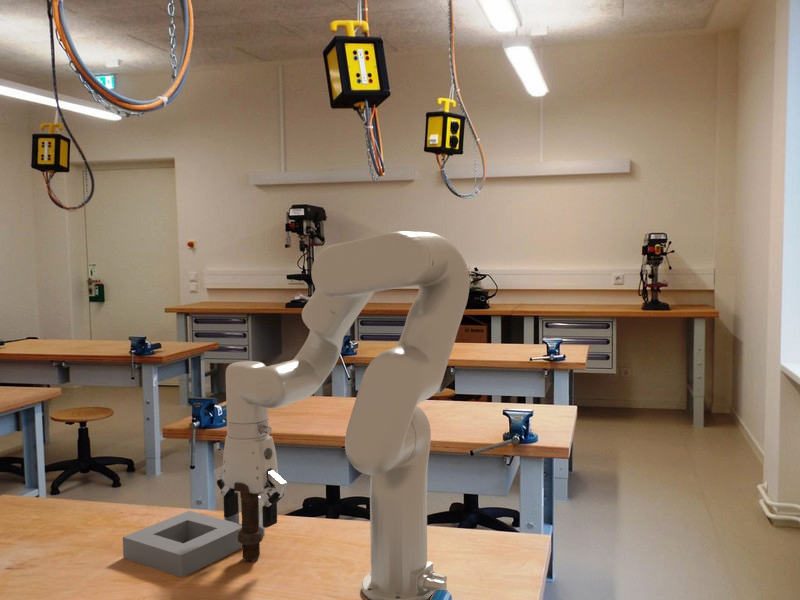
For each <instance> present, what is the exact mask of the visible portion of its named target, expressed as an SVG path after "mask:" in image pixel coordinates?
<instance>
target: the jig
mask: <svg viewBox="0 0 800 600" xmlns="http://www.w3.org/2000/svg"><path fill="white" fill-rule="evenodd" d="M240 529H242V523H239V524H238V523H234V522H231V521H227V520H224V518H219V517H214V516H211V515H208V514H203V513H199V512H195V511H193V510H187V511H185V512H182V513H179V514H177V515H175V516H173V517H170V518H167V519H165V520H163V521H160V522H157V523H155V524H152V525H149V526H146V527H144V528H142V529H139V530H137V531H135V532H132V533H129V534H127V535H123V536H122V551H123V552H122V557H123V559H125V558H126V559H125V560H128V561H131V562H134V563H138V564H141V565H144V566H147V567H150V568H153V569H154V570H159V571H162V572H165V573H168V574H170V575H174V576H176V577H179V578H183V577H186V576H189V575H190V574H193V573H194V572H196V571H198V570H200V569H202V568H203V569H204V568H205V567H208V566H209V565H211V564H212V563H214V562H216V561H219V560H222V559H223V558H225V557H227V556H229V555H231V554H232V553H235V552H237V551H239V550H241V549H242V544H241V543H240V542H238V532H239V530H240Z"/></svg>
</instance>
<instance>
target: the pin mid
mask: <svg viewBox="0 0 800 600" xmlns="http://www.w3.org/2000/svg"><path fill="white" fill-rule="evenodd" d="M258 498H259V527H261V528H262V529H263V537H264V536H266V535H265V534H266V533H265V532H266V530H265V529H266V528H264V527H263V517H262V507H263V506H264V505H265V504H264V502H263V500H262V498H261V497H260V495H259V497H258Z"/></svg>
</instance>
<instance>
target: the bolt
mask: <svg viewBox="0 0 800 600" xmlns="http://www.w3.org/2000/svg"><path fill="white" fill-rule="evenodd" d="M234 491H235V492H239V494H240V495H239V496H240V503H241V504H240V506H241V511H240V512H241V524H242V529H240V530H239V532H238V542H240V543H241V544H242V548H241V549H242V550H241V551H242V559H243V560H244V561H246V562H249V561H251V562H255V561H256V560H257V559H258V558H259V557H260V555H261V554H260V553H261V544H260V543H261V542H262V541H263V540H264V536H263V529H262V528H261V527H259V498H258V497H259V494H253V493H250V492H249V489H248V486H247V485H245V484H242V483H238V482H236V483H235V484H234Z"/></svg>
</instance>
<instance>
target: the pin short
mask: <svg viewBox="0 0 800 600" xmlns="http://www.w3.org/2000/svg"><path fill="white" fill-rule="evenodd" d="M238 509H239V510H240V503H239V502H238ZM223 520H227V521H231V522H234V523H238V524H240V511H239V512H238V513H237V514H235V515H233V516H230V517H228V518H226V517H224V516H223Z"/></svg>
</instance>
